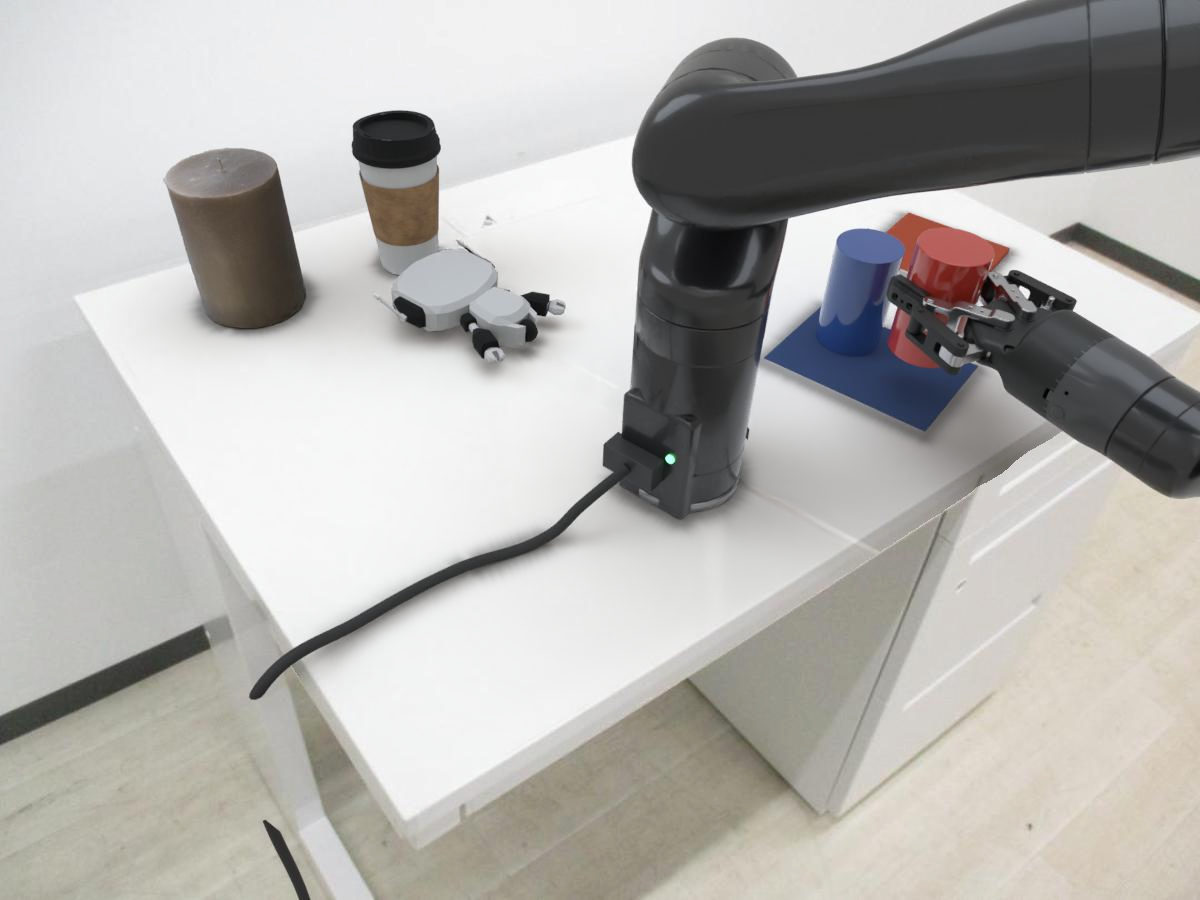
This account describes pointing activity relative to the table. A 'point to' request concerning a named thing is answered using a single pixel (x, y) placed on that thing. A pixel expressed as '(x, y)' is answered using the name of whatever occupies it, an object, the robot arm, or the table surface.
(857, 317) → the blue glossy cylinder
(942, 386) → the blue mat
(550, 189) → the table surface
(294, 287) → the pillar candle
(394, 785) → the table surface
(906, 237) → the red mat
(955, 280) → the red glossy cylinder
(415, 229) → the coffee cup
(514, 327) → the robot toy
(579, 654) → the table surface
